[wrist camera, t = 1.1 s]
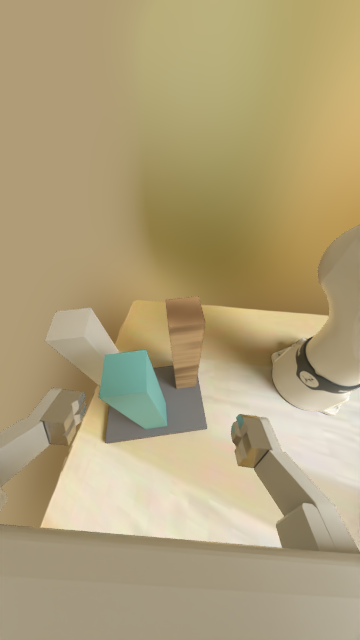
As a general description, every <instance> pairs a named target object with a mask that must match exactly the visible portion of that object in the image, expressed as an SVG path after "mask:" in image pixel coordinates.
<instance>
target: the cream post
mask: <svg viewBox="0 0 360 640" xmlns="http://www.w3.org/2000/svg"><path fill="white" fill-rule="evenodd" d="M45 342H46V343H48V344H49V345H50V346H52V348H54V349H55V350H56V351H57V352H59V353H60V354H61V355H62V356H64V357H65V358H66V359H67V360H68V361H70V362H71V363H72V364H73V365H75V366H76V367H77V368H78V369H80V370H81V371H82V372H83V373H84V374H86V375H87V376H88V377H89V378H90V379H92V380H93V381H94V382H96V383H97V384H98V385H99V386H101V379H102V371H103V364H104V357H105V355H106V354H114V353H119V351H118V349H117V348H116V346H115V345H114V343H113V342H112V340H111V338H110V337H109V335H108V334H107V332H106V331H105V329H104V327H103V326H102V324H101V323H100V321H99V320H98V318H97V316H96V315H95V313H94V312H93V310H92V309H91V308H84V309H74V310H64V311H56V312H55V315H54V318H53V320H52V323H51V326H50V328H49V331H48V334H47V336H46V339H45Z"/></svg>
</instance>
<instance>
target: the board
mask: <svg viewBox="0 0 360 640" xmlns="http://www.w3.org/2000/svg"><path fill="white" fill-rule="evenodd" d="M153 370H154V372H155V375H156V378H157V380H158V383H159V386H160V389H161V391H162V394H163V397H164V399H165V402H166V412H167V426H165V427H159V428H152V429H144V428H143V427H141V426H140V425H138V424H137V423H135V422H134V421H132V420H131V419H129V418H128V417H126V416H125V415H124V414H122V413H121V412H119V411H118V410H116V409H115V408H113V407H112V406H110V405H109V412H108V422H107V431H106V441H105V443H107V444H108V443H115V442H121V441H128V440H135V439H142V438H149V437H155V436H162V435H169V434H176V433H183V432H190V431H196V430H203V429H207V424H206V419H205V413H204V408H203V402H202V397H201V391H200V386H199V381H198V375H197V382H196V386H195V387H188V388H180V389H177V388H176V381H175V373H174V366H167V367H159V368H153Z"/></svg>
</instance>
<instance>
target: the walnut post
mask: <svg viewBox="0 0 360 640" xmlns="http://www.w3.org/2000/svg"><path fill="white" fill-rule="evenodd" d="M166 308H167V318H168V327H169V335H170V342H171V350H172V358H173V365H174V373H175V381H176V388H177V389H180V388H188V387H195V386H196V382H197V375H198V368H199V362H200V355H201V348H202V342H203V335H204V328H205V319H204V316H203V312H202V308H201V304H200V300H199V296H196V297H187V298H178V299H169V300H166Z"/></svg>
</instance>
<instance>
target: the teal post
mask: <svg viewBox="0 0 360 640" xmlns="http://www.w3.org/2000/svg"><path fill="white" fill-rule="evenodd" d="M99 398H100V399H101V400H103V401H104V402H106V403H107V404H109V405H110V406H112V407H113V408H115V409H116V410H118V411H119V412H121V413H122V414H124V415H125V416H126V417H128V418H129V419H131V420H132V421H134V422H135V423H137V424H138V425H140V426H141V427H143V428H144V429H152V428H159V427H165V426H167V412H166V402H165V399H164V397H163V394H162V391H161V389H160V386H159V383H158V380H157V378H156V375H155V372H154V370H153V367H152V364H151V361H150V359H149V356H148V353H147V351H146V350H139V351H131V352H122V353H114V354H106V355H105V357H104V364H103V371H102V379H101V386H100V393H99Z"/></svg>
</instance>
